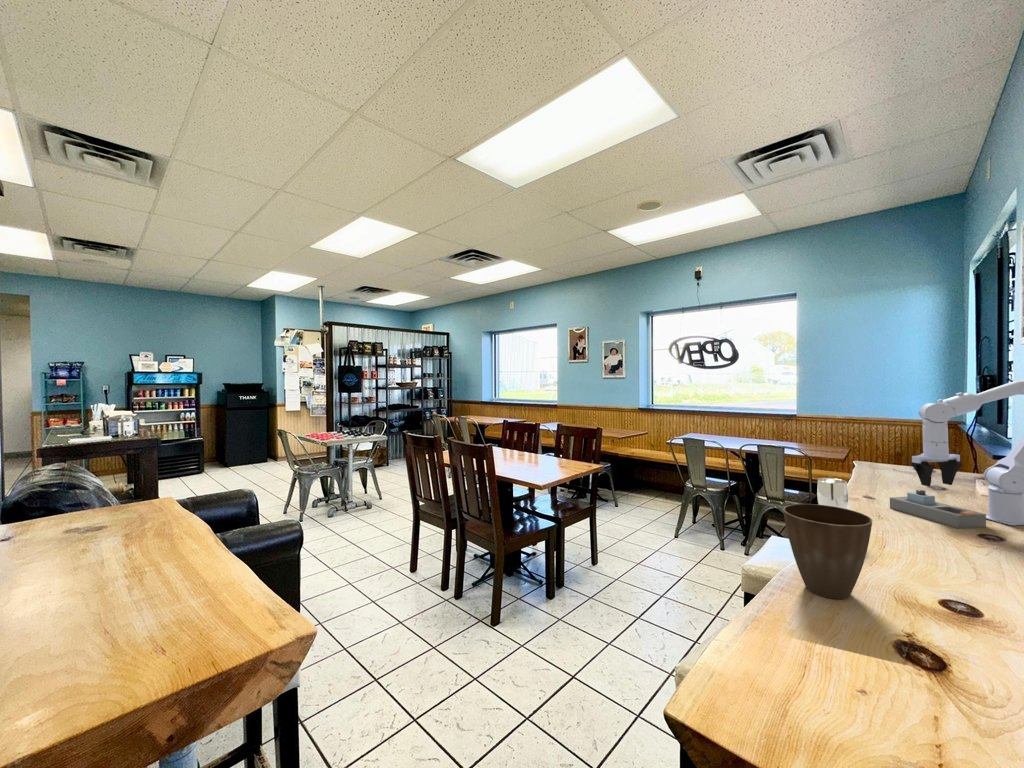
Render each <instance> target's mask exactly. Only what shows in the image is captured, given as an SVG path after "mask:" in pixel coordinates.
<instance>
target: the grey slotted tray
mask: <svg viewBox="0 0 1024 768" xmlns="http://www.w3.org/2000/svg"><path fill="white" fill-rule="evenodd" d="M889 508H890V509H891V508H893V509H892V510H895V509H896V510H895V511H898V510H899V511H898V512H901V511H902V513H905V514H908V515H912V516H915V517H918V518H923V519H925V520H930V521H931V522H932V521H933V522H935V523H939V524H943V525H946V526H949V527H953V528H955V529H969V528H971V529H972V528H982V527H984V528H985V527H987V519H986V515H987V514H986V513H983V512H977V511H975V510H970V509H966V508H962V507H959V506H954V505H950V504H947V503H942V502H939V501H935V504H932V505H922V504H918V503H914V502H911V501H907V496H896V497H893V496H892V497H891V496H890V497H889Z"/></svg>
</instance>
